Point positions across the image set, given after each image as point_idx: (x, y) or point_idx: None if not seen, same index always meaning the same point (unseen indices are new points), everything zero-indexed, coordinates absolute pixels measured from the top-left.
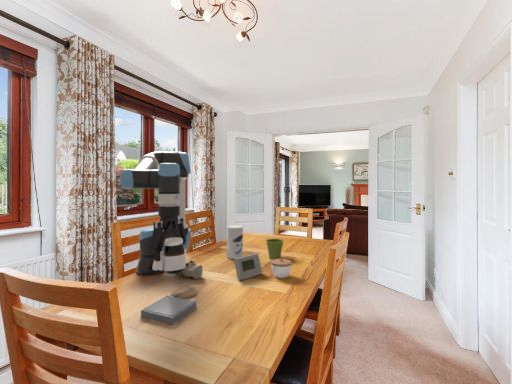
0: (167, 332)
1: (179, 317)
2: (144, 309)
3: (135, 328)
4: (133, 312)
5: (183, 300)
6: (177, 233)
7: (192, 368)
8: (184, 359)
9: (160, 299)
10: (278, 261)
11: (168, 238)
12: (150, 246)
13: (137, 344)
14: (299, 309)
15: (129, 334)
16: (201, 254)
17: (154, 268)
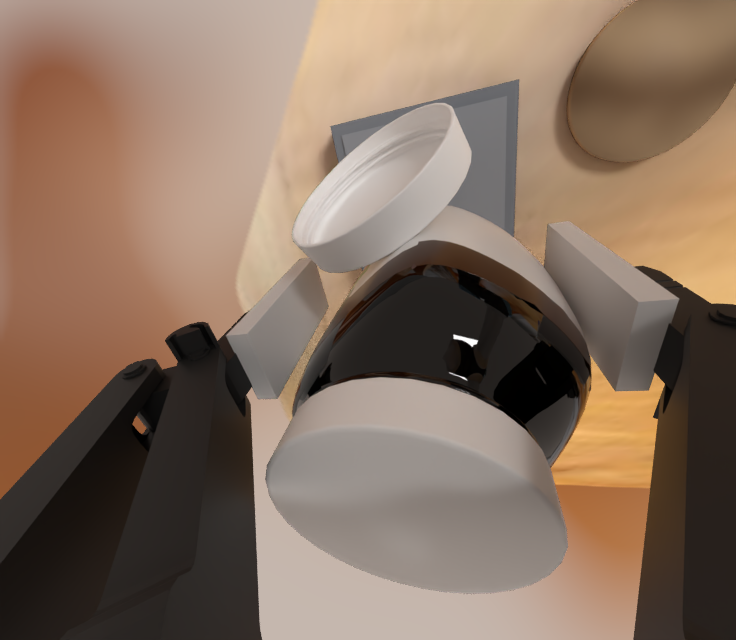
0: (335, 288)
1: None
2: (341, 136)
3: (286, 187)
4: (343, 40)
5: (494, 216)
6: (635, 627)
7: (293, 400)
8: (298, 379)
9: (458, 96)
10: None
11: (422, 454)
12: (100, 398)
13: (256, 266)
14: (603, 485)
15: (259, 204)
16: None
17: (324, 206)
